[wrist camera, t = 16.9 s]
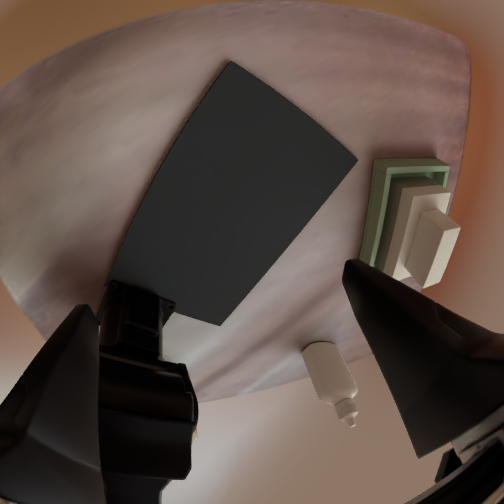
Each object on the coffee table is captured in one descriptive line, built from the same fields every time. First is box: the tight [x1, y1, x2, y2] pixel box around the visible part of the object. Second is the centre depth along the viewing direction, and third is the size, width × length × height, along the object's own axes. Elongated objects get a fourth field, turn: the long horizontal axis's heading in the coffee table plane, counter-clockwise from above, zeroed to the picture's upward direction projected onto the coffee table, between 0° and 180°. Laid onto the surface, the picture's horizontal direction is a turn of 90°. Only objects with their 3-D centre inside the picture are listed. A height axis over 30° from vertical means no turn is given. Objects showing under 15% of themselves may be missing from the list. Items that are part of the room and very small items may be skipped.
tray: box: [359, 158, 450, 271], centre depth 24 cm, size 12×8×2 cm
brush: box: [374, 176, 461, 288], centre depth 22 cm, size 9×5×6 cm, turn 4°
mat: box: [105, 61, 358, 326], centre depth 21 cm, size 20×12×1 cm, turn 144°
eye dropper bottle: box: [302, 342, 358, 427], centre depth 30 cm, size 4×6×12 cm
